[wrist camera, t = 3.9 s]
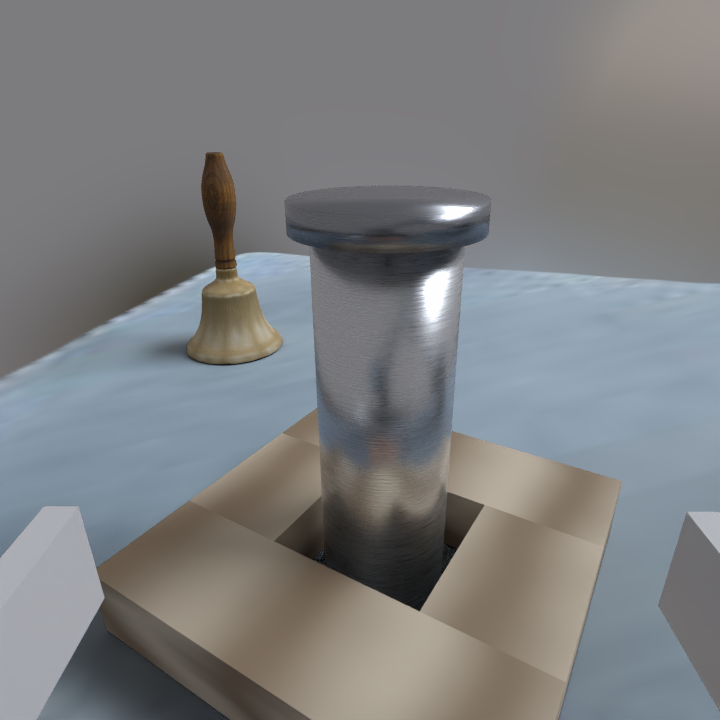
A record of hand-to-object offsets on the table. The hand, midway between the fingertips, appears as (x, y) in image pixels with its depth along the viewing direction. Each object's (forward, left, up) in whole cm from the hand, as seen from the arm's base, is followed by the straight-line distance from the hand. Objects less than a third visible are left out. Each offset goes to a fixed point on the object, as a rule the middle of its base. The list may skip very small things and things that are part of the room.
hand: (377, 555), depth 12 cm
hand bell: (+28, -23, -10) cm, 38 cm away
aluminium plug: (+4, -7, -9) cm, 13 cm away
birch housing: (+4, -7, -9) cm, 13 cm away
